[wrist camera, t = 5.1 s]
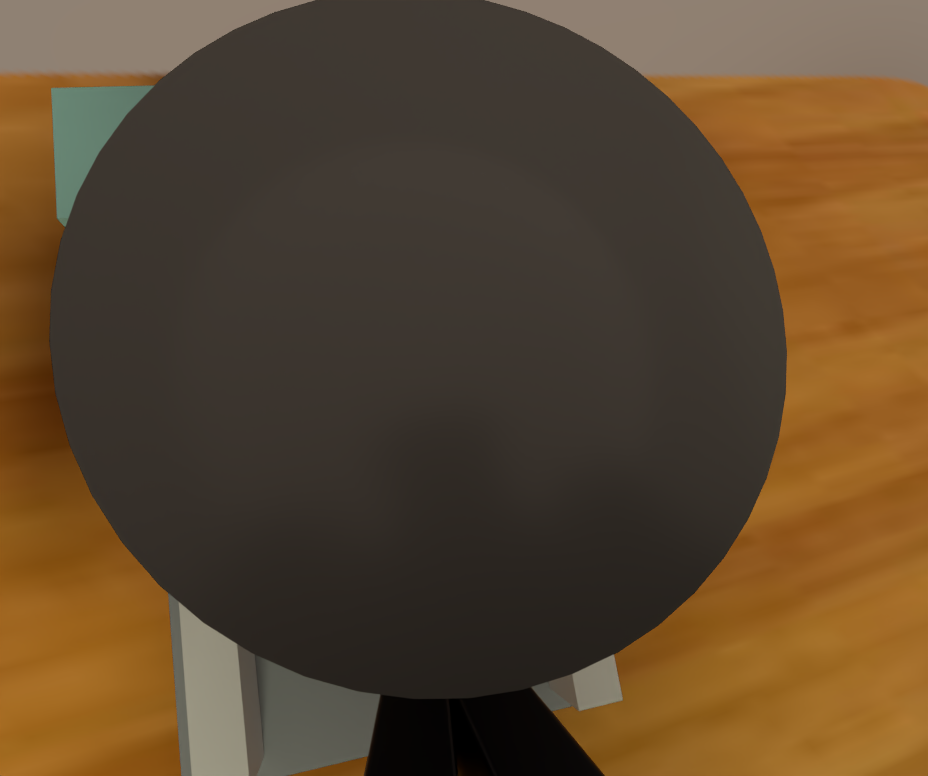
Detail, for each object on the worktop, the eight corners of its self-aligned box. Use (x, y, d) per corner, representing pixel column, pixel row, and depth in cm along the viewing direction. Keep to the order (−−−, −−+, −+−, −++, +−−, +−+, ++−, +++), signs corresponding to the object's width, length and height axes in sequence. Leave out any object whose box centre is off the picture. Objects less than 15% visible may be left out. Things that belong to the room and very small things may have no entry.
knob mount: (603, 685, 16) (742, 768, 11) (194, 782, 14) (89, 952, 8) (511, 215, 19) (582, 75, 13) (153, 240, 17) (51, 88, 11)
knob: (496, 554, 15) (869, 609, 4) (284, 594, 14) (65, 795, 3) (462, 356, 16) (696, -8, 5) (261, 380, 15) (36, -12, 4)
